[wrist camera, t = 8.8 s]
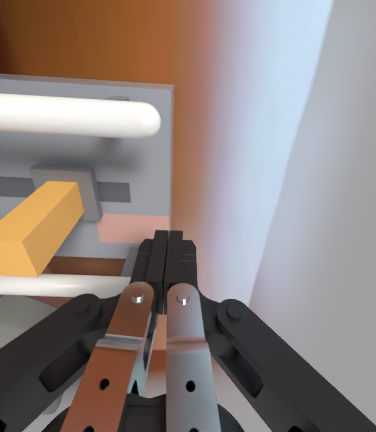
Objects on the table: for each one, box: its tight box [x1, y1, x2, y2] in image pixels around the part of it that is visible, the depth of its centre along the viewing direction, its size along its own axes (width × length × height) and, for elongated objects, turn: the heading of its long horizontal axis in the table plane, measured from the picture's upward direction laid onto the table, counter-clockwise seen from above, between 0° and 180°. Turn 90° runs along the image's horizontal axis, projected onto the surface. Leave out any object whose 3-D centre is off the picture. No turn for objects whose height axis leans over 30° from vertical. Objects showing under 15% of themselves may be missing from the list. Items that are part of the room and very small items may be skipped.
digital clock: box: [0, 295, 64, 415], centre depth 28 cm, size 16×9×11 cm, turn 41°
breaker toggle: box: [0, 165, 103, 277], centre depth 14 cm, size 4×4×7 cm
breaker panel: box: [0, 74, 174, 298], centre depth 17 cm, size 14×22×9 cm, turn 87°
